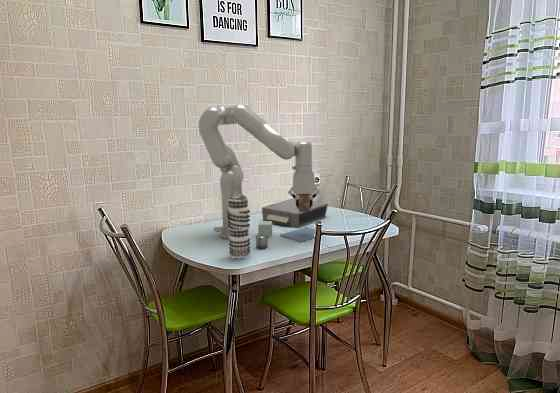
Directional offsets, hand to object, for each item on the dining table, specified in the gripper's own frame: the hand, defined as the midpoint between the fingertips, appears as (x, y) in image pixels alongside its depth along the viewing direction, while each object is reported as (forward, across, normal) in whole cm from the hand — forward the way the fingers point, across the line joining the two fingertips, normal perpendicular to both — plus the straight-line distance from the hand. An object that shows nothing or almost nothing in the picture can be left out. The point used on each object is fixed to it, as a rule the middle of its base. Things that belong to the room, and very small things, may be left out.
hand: (304, 207), depth 193 cm
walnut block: (+1, 0, 0) cm, 1 cm away
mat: (+13, 0, 0) cm, 13 cm away
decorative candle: (+13, -26, -28) cm, 41 cm away
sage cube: (+13, -18, 0) cm, 23 cm away
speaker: (+14, -5, +29) cm, 32 cm away
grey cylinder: (+13, -18, -18) cm, 29 cm away
